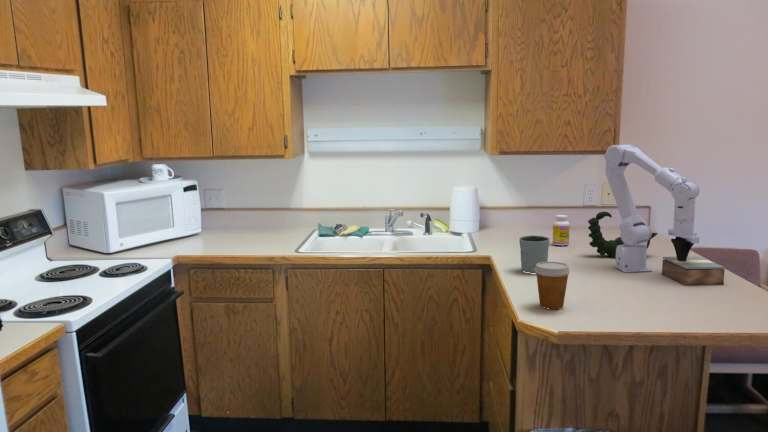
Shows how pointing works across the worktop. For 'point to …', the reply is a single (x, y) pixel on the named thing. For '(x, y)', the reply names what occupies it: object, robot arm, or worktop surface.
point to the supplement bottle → (561, 230)
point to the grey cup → (533, 251)
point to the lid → (694, 263)
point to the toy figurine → (599, 241)
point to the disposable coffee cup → (552, 283)
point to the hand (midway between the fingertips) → (681, 260)
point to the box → (693, 275)
